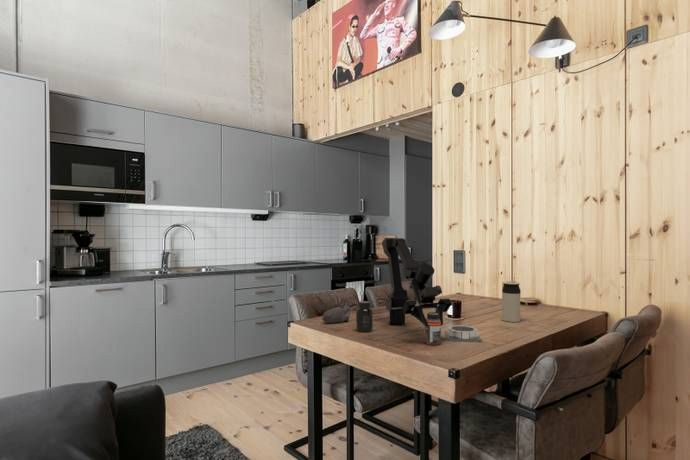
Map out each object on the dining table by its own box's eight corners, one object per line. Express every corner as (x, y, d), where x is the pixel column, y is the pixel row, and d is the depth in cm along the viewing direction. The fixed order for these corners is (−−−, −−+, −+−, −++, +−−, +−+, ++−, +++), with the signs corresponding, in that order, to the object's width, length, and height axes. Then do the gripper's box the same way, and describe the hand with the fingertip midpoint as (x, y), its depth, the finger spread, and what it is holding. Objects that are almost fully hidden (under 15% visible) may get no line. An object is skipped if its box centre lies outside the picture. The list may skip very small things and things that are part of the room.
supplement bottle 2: (422, 341, 156) (422, 311, 156) (437, 341, 157) (438, 311, 157) (427, 345, 150) (427, 314, 150) (442, 345, 151) (443, 314, 151)
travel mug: (501, 321, 191) (502, 282, 191) (502, 318, 198) (502, 280, 198) (520, 323, 188) (520, 283, 188) (520, 319, 195) (520, 281, 195)
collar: (449, 341, 157) (449, 332, 157) (444, 333, 169) (444, 324, 169) (481, 341, 156) (482, 332, 156) (474, 333, 168) (474, 325, 168)
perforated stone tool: (324, 325, 181) (324, 309, 181) (319, 323, 186) (319, 307, 186) (353, 321, 189) (353, 306, 189) (347, 319, 194) (347, 304, 194)
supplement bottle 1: (374, 329, 175) (374, 301, 175) (370, 333, 168) (370, 303, 168) (359, 328, 177) (359, 300, 177) (354, 331, 170) (354, 302, 170)
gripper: (405, 279, 155) (418, 314, 144) (449, 277, 160) (465, 311, 149) (396, 296, 162) (408, 331, 152) (439, 294, 167) (453, 328, 157)
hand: (434, 325), depth 152 cm, fingers closed on supplement bottle 2, 6 cm apart
